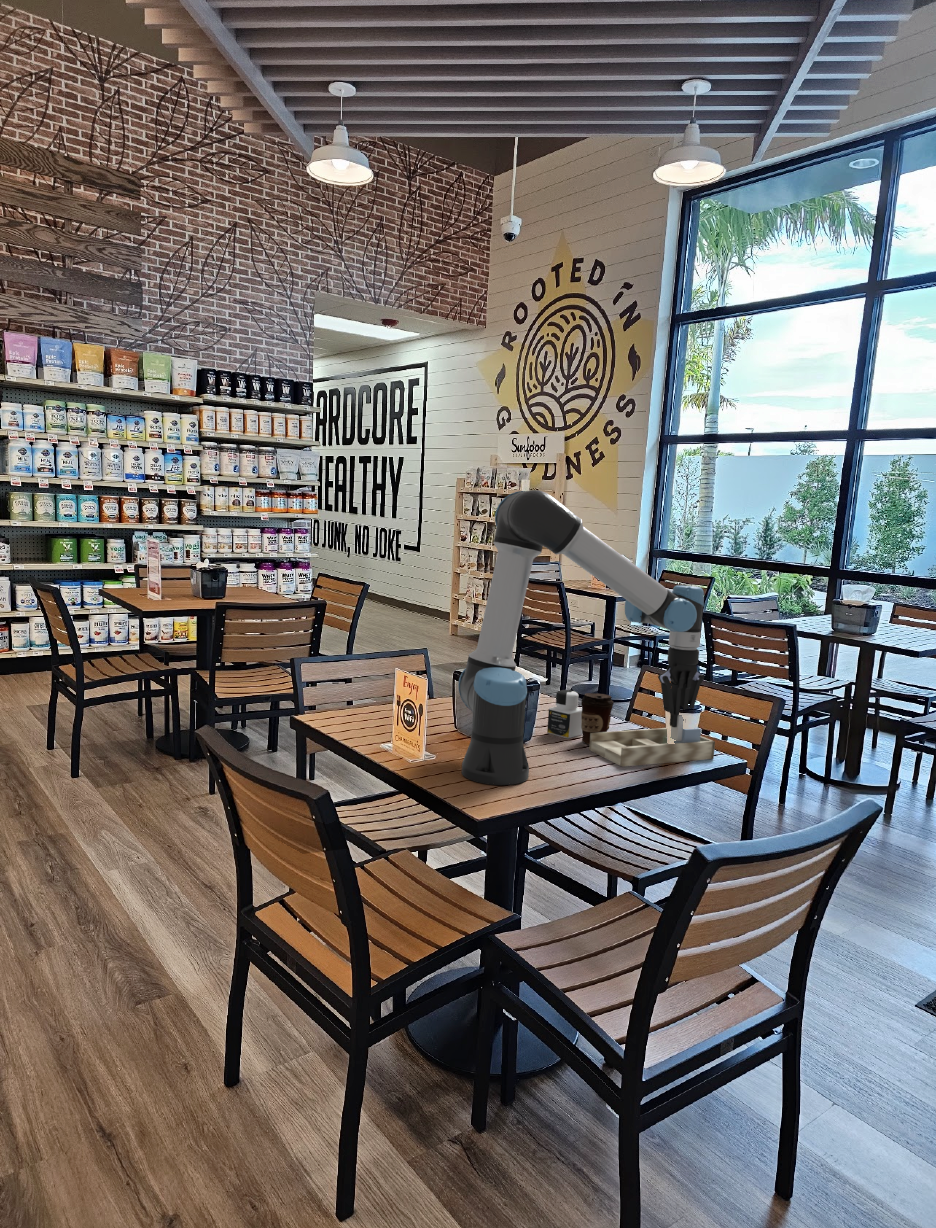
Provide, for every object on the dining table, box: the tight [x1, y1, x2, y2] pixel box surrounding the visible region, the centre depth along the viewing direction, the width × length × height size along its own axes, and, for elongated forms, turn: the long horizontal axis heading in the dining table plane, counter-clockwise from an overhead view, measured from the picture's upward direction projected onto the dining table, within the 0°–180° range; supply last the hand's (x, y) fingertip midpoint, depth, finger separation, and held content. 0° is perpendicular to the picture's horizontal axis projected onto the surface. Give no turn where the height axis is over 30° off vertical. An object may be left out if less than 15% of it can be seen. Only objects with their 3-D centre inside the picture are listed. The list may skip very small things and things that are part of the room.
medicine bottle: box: [546, 689, 583, 739], centre depth 218 cm, size 7×7×12 cm
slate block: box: [674, 727, 702, 744], centre depth 203 cm, size 5×5×5 cm
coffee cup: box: [581, 692, 614, 745], centre depth 210 cm, size 9×8×13 cm
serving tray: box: [588, 727, 716, 768], centre depth 202 cm, size 28×14×4 cm, turn 114°
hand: (676, 739), depth 201 cm, fingers closed
